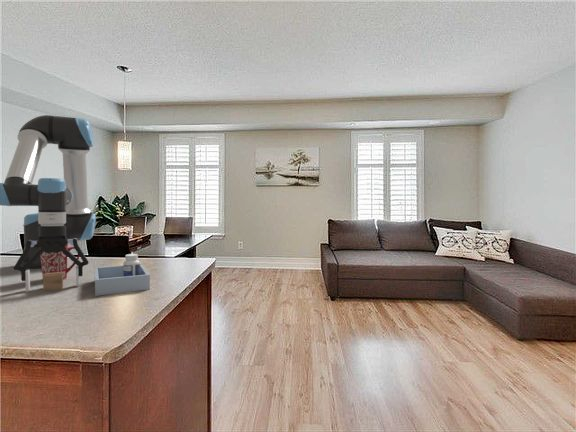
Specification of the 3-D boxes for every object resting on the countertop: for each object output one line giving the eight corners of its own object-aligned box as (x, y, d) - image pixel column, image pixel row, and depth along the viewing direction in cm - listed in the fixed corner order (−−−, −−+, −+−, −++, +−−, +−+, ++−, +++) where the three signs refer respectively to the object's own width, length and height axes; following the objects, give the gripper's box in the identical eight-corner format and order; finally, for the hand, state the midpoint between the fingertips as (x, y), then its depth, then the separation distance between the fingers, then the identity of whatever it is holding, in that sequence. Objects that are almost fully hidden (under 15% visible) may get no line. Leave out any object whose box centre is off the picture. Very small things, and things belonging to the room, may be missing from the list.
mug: (37, 283, 117) (36, 245, 117) (41, 277, 125) (40, 242, 124) (79, 279, 124) (79, 243, 123) (80, 274, 131) (80, 240, 131)
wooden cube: (45, 287, 113) (45, 273, 112) (63, 286, 115) (62, 271, 115) (43, 291, 108) (43, 276, 108) (62, 289, 111) (61, 274, 111)
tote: (94, 281, 122) (94, 267, 122) (141, 276, 130) (141, 264, 130) (95, 295, 105) (95, 279, 105) (149, 289, 113) (149, 274, 113)
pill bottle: (137, 279, 123) (136, 253, 123) (142, 282, 119) (142, 255, 119) (121, 281, 120) (121, 254, 119) (126, 284, 116) (126, 256, 115)
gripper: (1, 226, 101) (2, 295, 102) (96, 224, 114) (96, 286, 115) (6, 224, 107) (7, 289, 109) (95, 223, 120) (96, 281, 121)
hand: (53, 288), depth 112 cm, fingers open, 13 cm apart
